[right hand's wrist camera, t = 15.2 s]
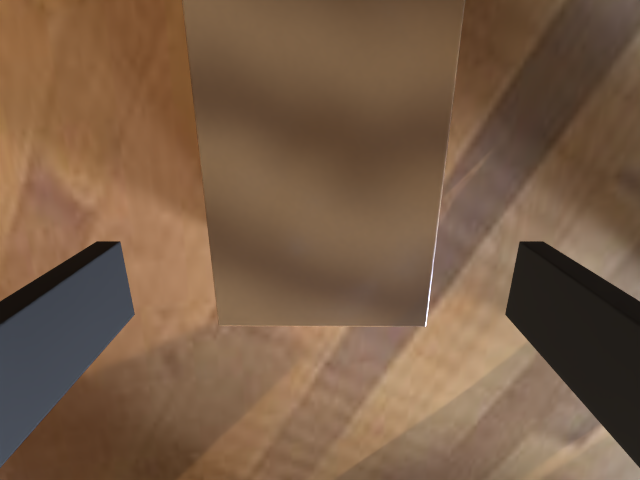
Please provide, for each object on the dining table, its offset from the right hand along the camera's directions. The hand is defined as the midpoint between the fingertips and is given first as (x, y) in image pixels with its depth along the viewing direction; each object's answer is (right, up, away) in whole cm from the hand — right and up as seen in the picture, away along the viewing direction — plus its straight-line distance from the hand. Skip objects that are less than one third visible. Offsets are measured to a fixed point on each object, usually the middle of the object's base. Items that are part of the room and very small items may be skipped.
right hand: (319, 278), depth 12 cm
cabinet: (0, +9, +11) cm, 14 cm away
